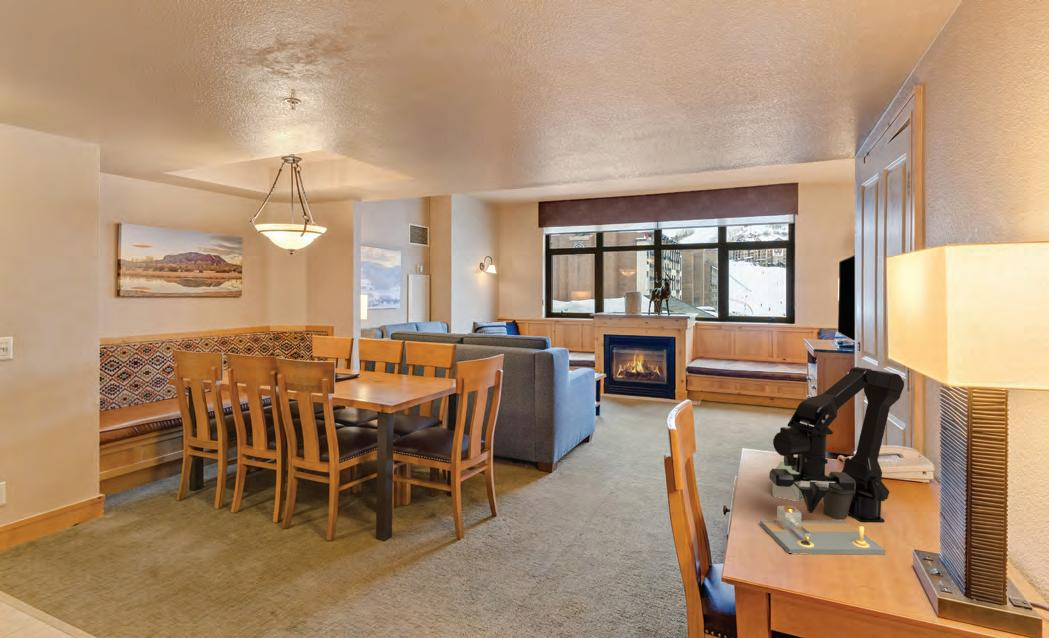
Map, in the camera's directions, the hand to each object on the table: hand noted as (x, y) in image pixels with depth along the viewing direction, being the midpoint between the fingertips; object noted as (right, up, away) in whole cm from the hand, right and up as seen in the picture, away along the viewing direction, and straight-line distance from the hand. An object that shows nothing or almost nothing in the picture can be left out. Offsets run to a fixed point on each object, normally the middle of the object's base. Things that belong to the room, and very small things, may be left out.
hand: (810, 512), depth 134 cm
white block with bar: (-7, -3, -6) cm, 9 cm away
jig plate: (-1, -4, -6) cm, 7 cm away
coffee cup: (+11, -4, +8) cm, 15 cm away
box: (+7, -3, +24) cm, 25 cm away
